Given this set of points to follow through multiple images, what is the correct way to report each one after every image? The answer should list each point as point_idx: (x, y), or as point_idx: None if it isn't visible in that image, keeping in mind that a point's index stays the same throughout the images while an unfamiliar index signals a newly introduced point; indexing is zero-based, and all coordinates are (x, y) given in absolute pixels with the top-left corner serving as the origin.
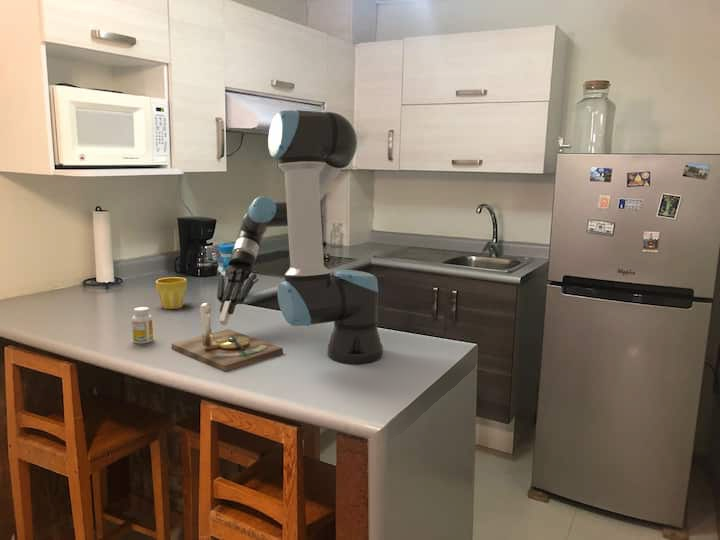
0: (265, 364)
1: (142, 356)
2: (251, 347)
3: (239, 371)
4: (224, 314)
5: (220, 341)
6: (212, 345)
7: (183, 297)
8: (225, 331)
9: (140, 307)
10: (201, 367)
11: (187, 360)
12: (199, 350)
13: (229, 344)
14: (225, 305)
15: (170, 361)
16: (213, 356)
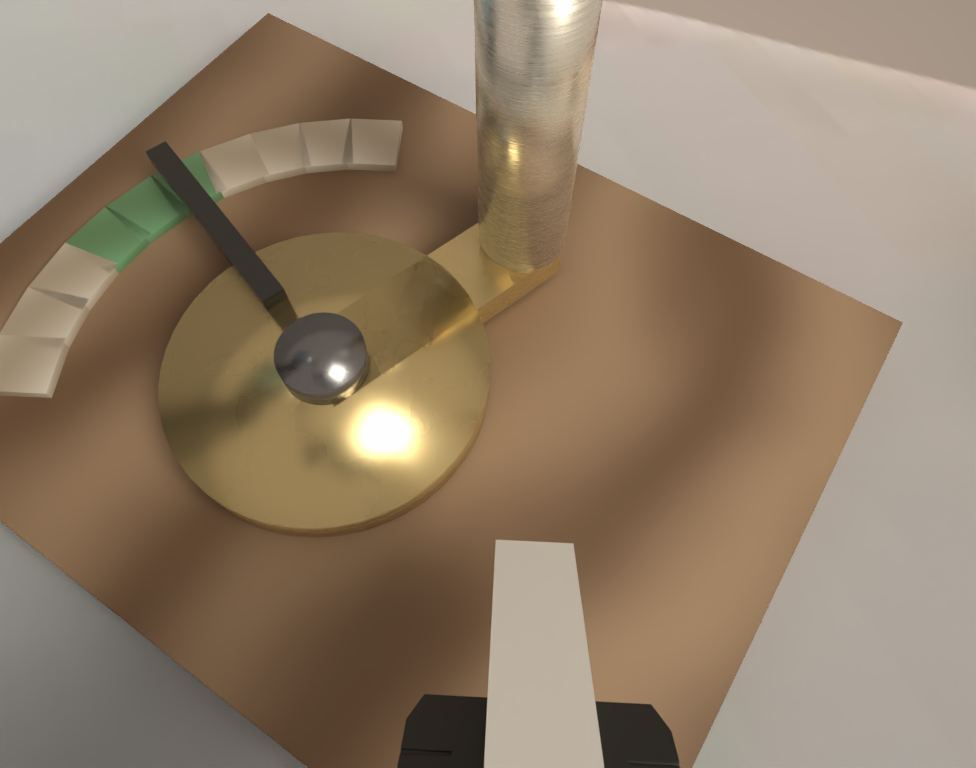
0: (25, 178)
1: (963, 172)
2: (138, 352)
3: (189, 62)
4: (513, 604)
5: (435, 328)
6: (468, 231)
7: None
8: None
9: None
10: (451, 78)
11: (603, 158)
12: None
13: (322, 269)
14: (557, 751)
15: (706, 127)
16: (401, 126)
